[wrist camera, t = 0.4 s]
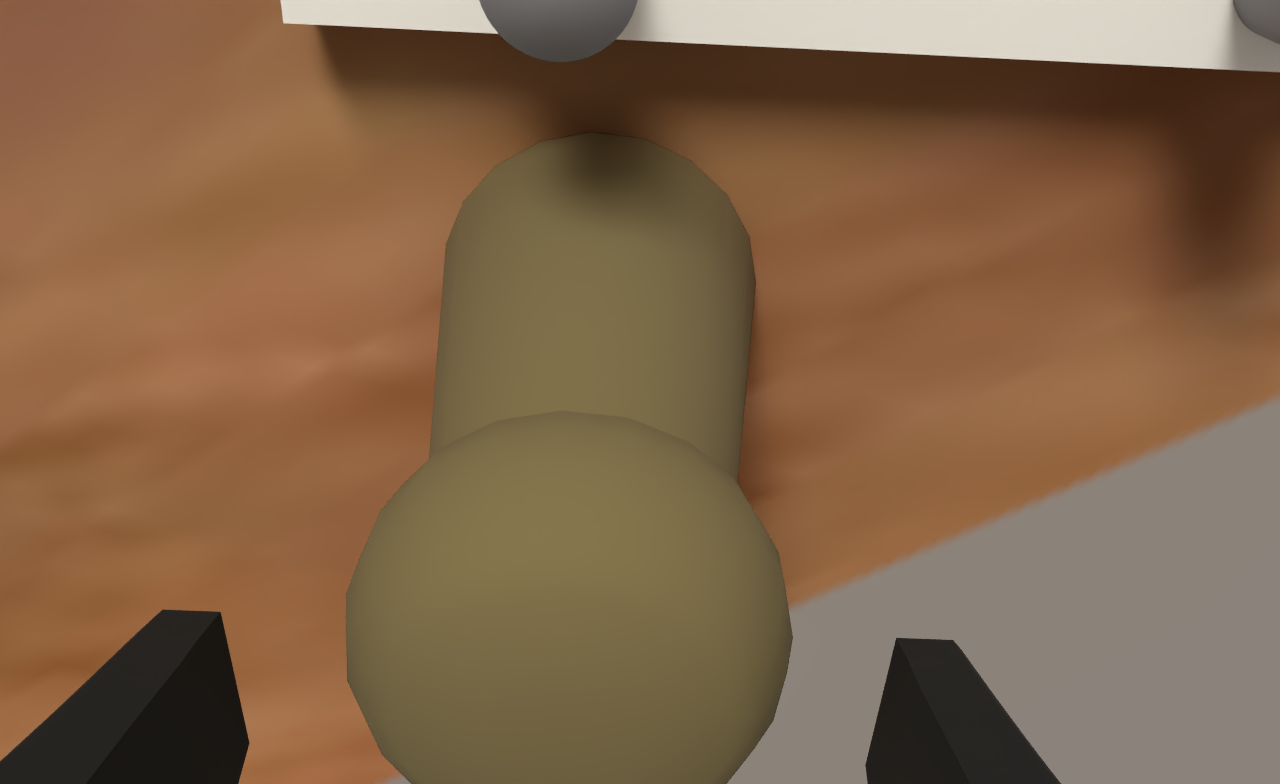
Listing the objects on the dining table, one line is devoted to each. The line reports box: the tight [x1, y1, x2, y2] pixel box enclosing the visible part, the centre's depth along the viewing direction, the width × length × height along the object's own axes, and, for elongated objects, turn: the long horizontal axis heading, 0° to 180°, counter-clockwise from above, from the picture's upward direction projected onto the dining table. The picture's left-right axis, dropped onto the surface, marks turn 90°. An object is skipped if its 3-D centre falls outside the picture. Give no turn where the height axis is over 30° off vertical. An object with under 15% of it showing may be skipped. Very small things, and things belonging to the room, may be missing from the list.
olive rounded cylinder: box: [346, 132, 793, 784], centre depth 16 cm, size 6×6×11 cm
